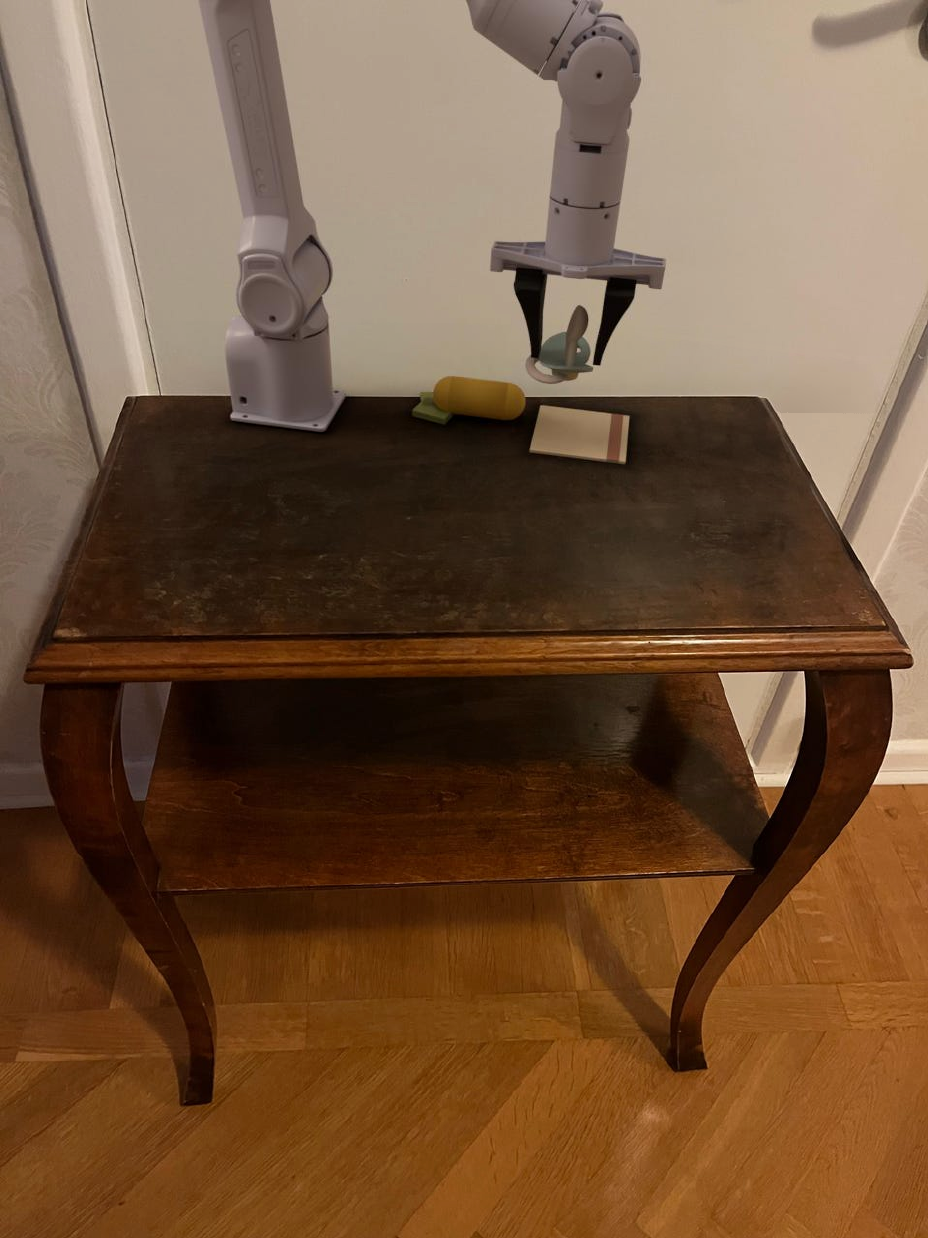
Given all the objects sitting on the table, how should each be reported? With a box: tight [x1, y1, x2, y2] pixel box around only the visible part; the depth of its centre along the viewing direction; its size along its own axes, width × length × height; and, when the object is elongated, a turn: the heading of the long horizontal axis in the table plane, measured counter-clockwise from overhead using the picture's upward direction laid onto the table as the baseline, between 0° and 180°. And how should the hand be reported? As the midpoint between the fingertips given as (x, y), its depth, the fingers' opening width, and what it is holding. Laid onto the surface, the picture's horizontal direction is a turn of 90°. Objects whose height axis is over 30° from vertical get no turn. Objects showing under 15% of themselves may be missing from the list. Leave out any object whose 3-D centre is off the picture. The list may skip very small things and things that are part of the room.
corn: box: [411, 375, 526, 426], centre depth 89 cm, size 11×6×4 cm, turn 80°
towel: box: [529, 404, 630, 465], centre depth 88 cm, size 9×9×1 cm
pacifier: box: [524, 304, 594, 385], centre depth 81 cm, size 7×6×6 cm
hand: (566, 356), depth 82 cm, fingers closed on pacifier, 5 cm apart
